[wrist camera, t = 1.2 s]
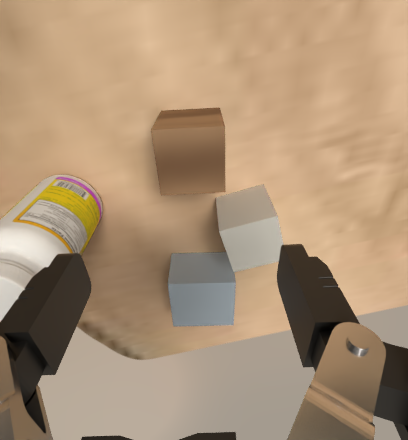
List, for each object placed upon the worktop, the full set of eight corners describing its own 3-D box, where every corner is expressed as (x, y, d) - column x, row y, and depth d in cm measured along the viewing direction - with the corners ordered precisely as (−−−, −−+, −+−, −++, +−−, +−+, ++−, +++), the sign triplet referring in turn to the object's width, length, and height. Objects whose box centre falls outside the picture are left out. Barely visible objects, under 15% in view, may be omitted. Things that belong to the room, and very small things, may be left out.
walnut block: (161, 110, 24) (151, 129, 19) (219, 107, 24) (224, 126, 19) (168, 165, 27) (161, 195, 22) (220, 162, 26) (225, 191, 21)
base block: (171, 252, 33) (167, 284, 29) (231, 251, 33) (235, 282, 28) (176, 293, 37) (173, 326, 32) (229, 292, 36) (233, 325, 32)
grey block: (215, 197, 29) (219, 231, 24) (263, 183, 28) (277, 215, 23) (228, 234, 31) (233, 272, 26) (272, 223, 30) (286, 259, 25)
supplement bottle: (57, 232, 31) (-19, 337, 20) (24, 179, 27) (-90, 271, 16) (114, 222, 30) (67, 325, 19) (88, 165, 26) (12, 253, 16)
